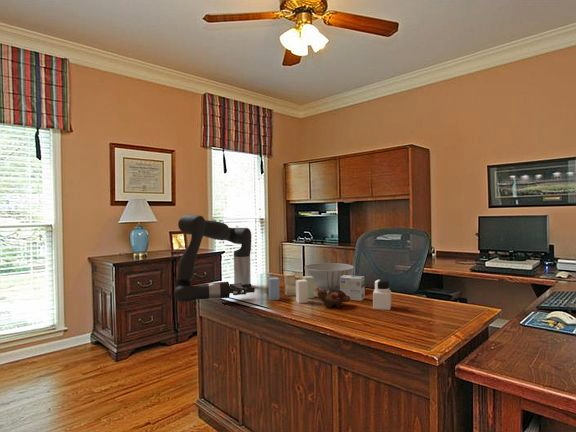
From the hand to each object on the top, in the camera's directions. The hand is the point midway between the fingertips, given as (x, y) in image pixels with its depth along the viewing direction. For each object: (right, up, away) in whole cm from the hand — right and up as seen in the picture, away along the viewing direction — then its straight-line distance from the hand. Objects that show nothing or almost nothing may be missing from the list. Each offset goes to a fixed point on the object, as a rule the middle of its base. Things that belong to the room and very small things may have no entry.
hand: (253, 287), depth 178 cm
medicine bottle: (+58, -6, -16) cm, 60 cm away
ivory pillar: (+23, -6, -4) cm, 24 cm away
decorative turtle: (+37, -6, -12) cm, 40 cm away
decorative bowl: (+39, -5, +24) cm, 46 cm away
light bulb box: (+48, -6, +1) cm, 48 cm away
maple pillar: (+18, -6, +11) cm, 22 cm away
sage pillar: (+27, -6, +6) cm, 28 cm away
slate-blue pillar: (+10, -6, +3) cm, 12 cm away
